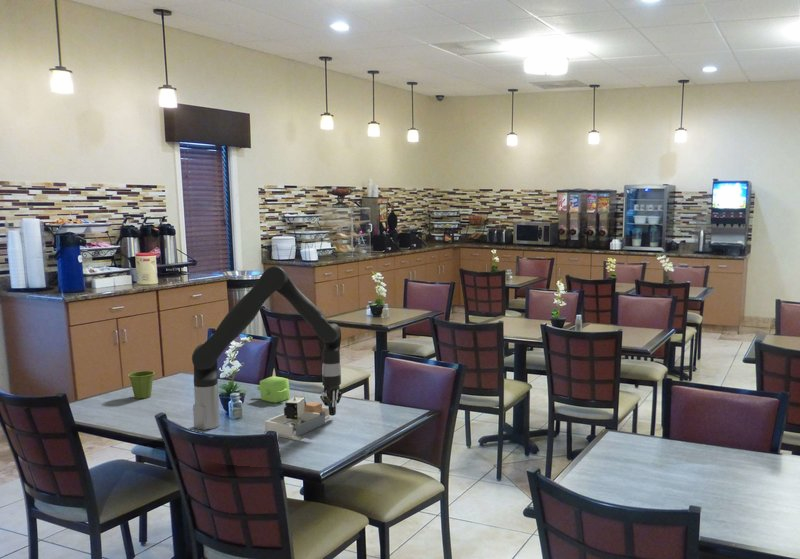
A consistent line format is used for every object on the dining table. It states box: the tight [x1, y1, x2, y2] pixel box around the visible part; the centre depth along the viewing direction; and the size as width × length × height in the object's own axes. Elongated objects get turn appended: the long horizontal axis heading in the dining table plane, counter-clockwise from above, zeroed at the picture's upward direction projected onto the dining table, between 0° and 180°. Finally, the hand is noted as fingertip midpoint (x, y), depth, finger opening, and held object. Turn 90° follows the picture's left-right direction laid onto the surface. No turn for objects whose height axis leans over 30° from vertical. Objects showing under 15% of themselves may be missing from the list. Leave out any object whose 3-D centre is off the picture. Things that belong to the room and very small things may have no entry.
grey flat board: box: [295, 412, 326, 437], centre depth 265 cm, size 17×1×5 cm, turn 149°
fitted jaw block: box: [305, 401, 323, 413], centre depth 280 cm, size 5×5×6 cm
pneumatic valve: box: [283, 396, 307, 428], centre depth 269 cm, size 6×12×12 cm, turn 167°
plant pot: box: [127, 370, 156, 400], centre depth 321 cm, size 12×12×11 cm
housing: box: [264, 406, 331, 441], centre depth 273 cm, size 26×16×5 cm, turn 149°
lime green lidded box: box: [257, 375, 291, 403], centre depth 313 cm, size 18×10×10 cm, turn 52°
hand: (332, 415), depth 278 cm, fingers closed
